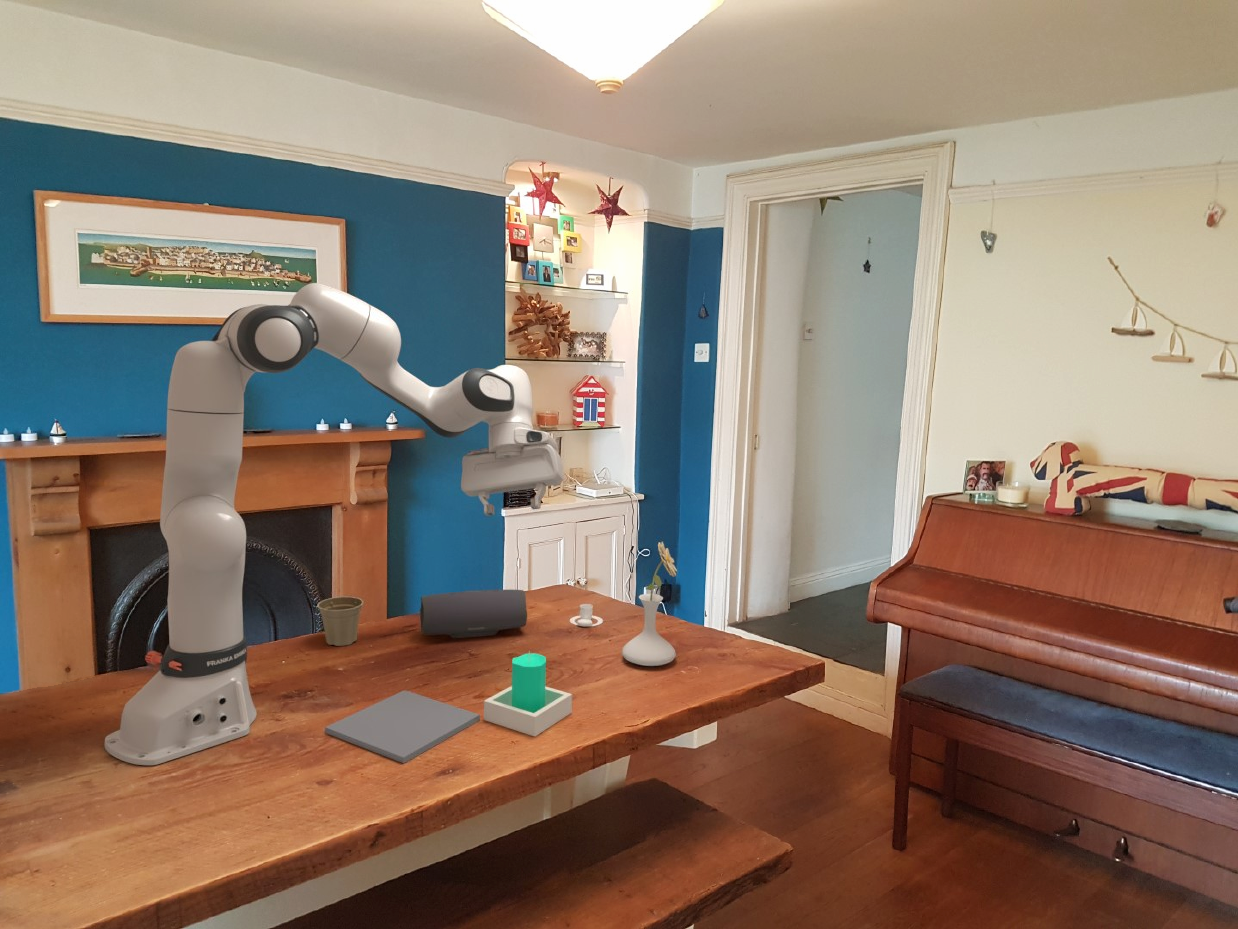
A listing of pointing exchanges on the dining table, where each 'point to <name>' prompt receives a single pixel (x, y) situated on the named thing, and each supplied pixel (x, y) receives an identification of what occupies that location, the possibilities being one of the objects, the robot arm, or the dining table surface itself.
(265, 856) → the dining table surface
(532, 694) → the candle
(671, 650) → the flower in vase
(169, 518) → the robot arm
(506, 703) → the square frame
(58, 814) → the dining table surface
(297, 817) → the dining table surface
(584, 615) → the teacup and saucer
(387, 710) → the slate tile
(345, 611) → the flower pot
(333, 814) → the dining table surface
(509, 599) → the bluetooth speaker
